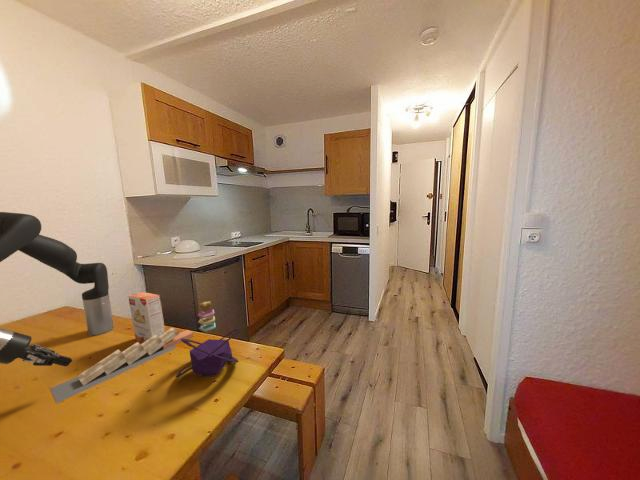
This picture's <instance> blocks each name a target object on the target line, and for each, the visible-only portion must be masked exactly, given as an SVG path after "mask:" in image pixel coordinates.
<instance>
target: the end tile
mask: <svg viewBox="0 0 640 480" xmlns="http://www.w3.org/2000/svg"><path fill="white" fill-rule="evenodd" d="M193 337H194V332H193V331H192V330H189V329H186V330H183V331H181V332H179V334H178V335H177V336H176V337H174V338H173V339H172V340H170V341H169V342H168V343H166V344H165V345H164V346H162V347H161V348H162V349H163V350H164V349H167V348H169V347H171V346H173V345H174V346H176V345H177V344H180V343H183V342H182V341H181V339H189V340H190V339H191V338H193Z"/></svg>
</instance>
